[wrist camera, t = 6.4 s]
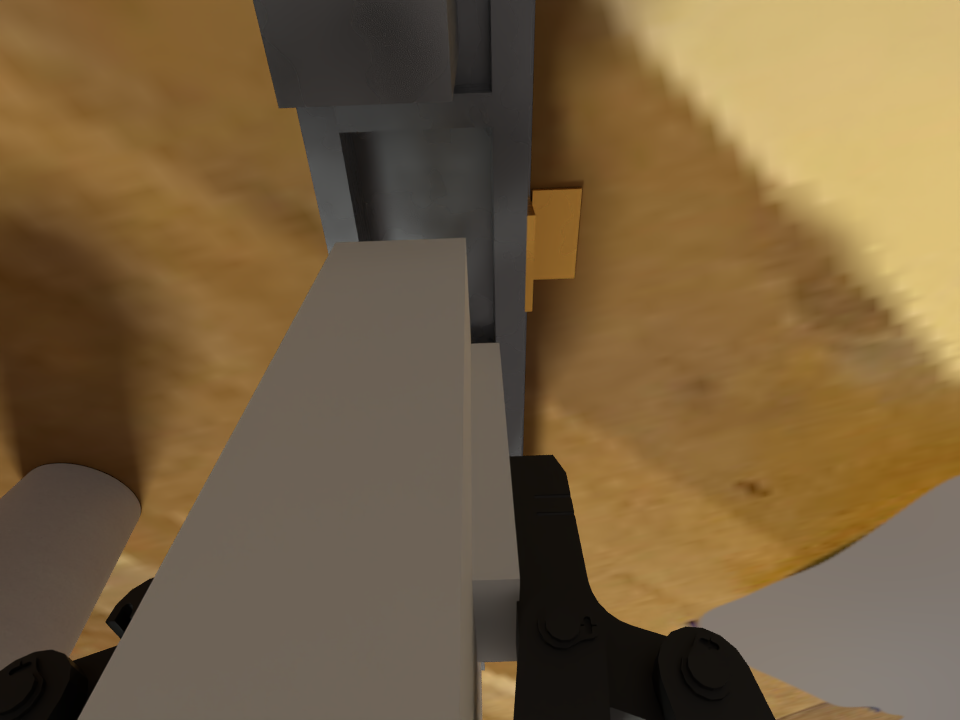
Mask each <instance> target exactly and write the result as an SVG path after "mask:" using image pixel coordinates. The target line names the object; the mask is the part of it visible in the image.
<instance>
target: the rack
mask: <svg viewBox="0 0 960 720" xmlns="http://www.w3.org/2000/svg"><path fill="white" fill-rule="evenodd" d="M253 3H254V7H255V11H256V15H257V19H258V23H259V28H260V32H261V36H262V40H263V44H264V48H265V52H266V57H267V61H268V65H269V69H270V73H271V77H272V82H273V86H274V90H275V94H276V98H277V102H278V106H279V108H296V109H297V114H298V118H299V123H300V127H301V132H302V136H303V141H304V145H305V149H306V154H307V158H308V163H309V167H310V172H311V176H312V181H313V185H314V190H315V194H316V199H317V203H318V208H319V212H320V217H321V221H322V226H323V230H324V235H325V239H326V244H327V248H328V253H329V254H330V252H331V250H332V248H333V246H334V244H335V243H338V242H365V241H392V240H418V239H445V238H466V254H467V274H468V294H469V313H470V333H471V344H476V343H499V345H500V356H501V368H502V379H503V391H504V402H505V414H506V425H507V437H508V448H509V456H523V430H524V394H525V358H526V321H527V312H532V304H533V280H540V279H567V278H574V276H575V265H576V253H577V242H578V231H579V219H580V208H581V196H582V188H581V187H578V188H552V189H532V202H531V199H530V176H531V140H532V104H533V67H534V31H535V0H253ZM481 670H485V664H484V662H481Z"/></svg>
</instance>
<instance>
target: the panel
mask: <svg viewBox="0 0 960 720" xmlns="http://www.w3.org/2000/svg"><path fill="white" fill-rule="evenodd" d="M78 720H482V682H481V662H478V655H477V641H476V628H475V614H474V601H473V587H472V483H471V333H470V313H469V294H468V274H467V254H466V238H445V239H418V240H392V241H365V242H338V243H335V244H334V246H333V248H332V250H331V252H330V254H329V255H328V257H327V259H326V261H325V263H324V265H323V267H322V268H321V270H320V272H319V274H318V276H317V278H316V279H315V281H314V283H313V285H312V287H311V289H310V291H309V292H308V294H307V296H306V298H305V300H304V302H303V303H302V305H301V307H300V309H299V311H298V313H297V315H296V316H295V318H294V320H293V322H292V324H291V326H290V328H289V329H288V331H287V333H286V335H285V337H284V339H283V340H282V342H281V344H280V346H279V348H278V350H277V352H276V353H275V355H274V357H273V359H272V361H271V363H270V365H269V366H268V368H267V370H266V372H265V374H264V376H263V377H262V379H261V381H260V383H259V385H258V387H257V389H256V390H255V392H254V394H253V396H252V398H251V400H250V401H249V403H248V405H247V407H246V409H245V411H244V413H243V414H242V416H241V418H240V420H239V422H238V424H237V426H236V427H235V429H234V431H233V433H232V435H231V437H230V438H229V440H228V442H227V444H226V446H225V448H224V450H223V451H222V453H221V455H220V457H219V459H218V461H217V463H216V464H215V466H214V468H213V470H212V472H211V474H210V475H209V477H208V479H207V481H206V483H205V485H204V487H203V488H202V490H201V492H200V494H199V496H198V498H197V499H196V501H195V503H194V505H193V507H192V509H191V511H190V512H189V514H188V516H187V518H186V520H185V522H184V524H183V525H182V527H181V529H180V531H179V533H178V535H177V536H176V538H175V540H174V542H173V544H172V546H171V548H170V549H169V551H168V553H167V555H166V557H165V559H164V561H163V562H162V564H161V566H160V568H159V570H158V572H157V573H156V575H155V577H154V579H153V581H152V583H151V585H150V586H149V588H148V590H147V592H146V594H145V596H144V597H143V599H142V601H141V603H140V605H139V607H138V609H137V610H136V612H135V614H134V616H133V618H132V620H131V622H130V623H129V625H128V627H127V629H126V631H125V633H124V634H123V636H122V638H121V640H120V642H119V644H118V646H117V647H116V649H115V651H114V653H113V655H112V657H111V659H110V660H109V662H108V664H107V666H106V668H105V670H104V671H103V673H102V675H101V677H100V679H99V681H98V683H97V684H96V686H95V688H94V690H93V692H92V694H91V695H90V697H89V699H88V701H87V703H86V705H85V707H84V708H83V710H82V712H81V714H80V716H79V718H78Z"/></svg>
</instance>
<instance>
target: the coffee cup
mask: <svg viewBox="0 0 960 720" xmlns="http://www.w3.org/2000/svg"><path fill="white" fill-rule="evenodd" d="M140 514H141V507H140V503H139V501H138V499H137V498H136V496H135V495H134V493H133V492H132V491H131V490H130V489H129V488H128V487H126V486H125V485H124V484H123V483H121V482H120V481H118V480H117V479H115V478H113V477H111V476H109V475H107V474H105V473H103V472H101V471H98V470H95V469H92V468H89V467H85V466H80V465H75V464H66V463H55V464H47V465H43V466H40V467H37V468H35V469H33V470H32V471H30V472H29V473H28V474H27V475H26V476H25V477H24V478H23V479H21V480H20V481H19V482H18V483H17V484H16V485H15V486H14V487H13V488H12V489H11V490H9V491H8V492H7V493H6V494H5V495H4V496H3V497H2V498H1V499H0V671H1V670H2V669H3V668H5V667H6V666H8V665H9V664H10V663H12V662H13V661H15V660H17V659H19V658H22V657H24V656H26V655H28V654H31V653H33V652H37V651H44V650H51V649H52V650H55V651H58V652H61V653H64V654H66V655H67V656H68V657H69V656H70V654H71V652H72V650H73V648H74V646H75V644H76V642H77V640H78V638H79V636H80V634H81V632H82V630H83V628H84V626H85V624H86V622H87V620H88V618H89V616H90V614H91V612H92V610H93V608H94V606H95V604H96V602H97V600H98V598H99V596H100V594H101V593H102V591H103V589H104V587H105V585H106V583H107V581H108V579H109V577H110V575H111V573H112V571H113V569H114V567H115V565H116V563H117V561H118V559H119V557H120V555H121V553H122V551H123V549H124V547H125V545H126V543H127V541H128V539H129V537H130V535H131V533H132V531H133V529H134V527H135V525H136V523H137V521H138V519H139V517H140Z"/></svg>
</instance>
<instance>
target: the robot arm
mask: <svg viewBox="0 0 960 720" xmlns="http://www.w3.org/2000/svg"><path fill="white" fill-rule="evenodd" d="M471 483H472V587H473V601H474V614H475V628H476V641H477V655H478V662H502V661H517V676H516V690H515V704H514V719H513V720H775V718H774V716H773V714H772V712H771V710H770V708H769V706H768V704H767V702H766V700H765V698H764V696H763V694H762V692H761V690H760V688H759V686H758V684H757V682H756V680H755V678H754V676H753V674H752V672H751V670H750V668H749V666H748V665H747V663H746V662H745V660H744V659H743V658H742V656H741V655H740V653H739V652H738V650H737V649H736V648H735V647H733V646H732V645H731V644H730V643H729V642H727V641H726V640H725V639H724V638H723V637H721V636H720V635H718V634H715V633H713V632H711V631H709V630H706V629H704V628H697V627H683V628H680V629H678V630H675V631H672V632H671V633H670V634H669V635H668V636H664V635H661V634H658V633H654V632H651V631H648V630H645V629H641V628H638V627H635V626H632V625H629V624H627V623H625V622H622V621H620V620H618V619H617V618H615V617H614V616H612V615H611V614H610V613H608V612H607V611H606V610H605V609H604V608H603V607H602V606H601V605H600V604H599V603H598V601H597V599H596V598H595V596H594V594H593V593H592V591H591V588H590V585H589V582H588V578H587V573H586V568H585V563H584V558H583V553H582V548H581V543H580V539H579V534H578V529H577V524H576V519H575V516H574V509H573V504H572V499H571V497H570V490H569V485H568V480H567V475H566V472H565V471H564V469H563V468H562V467H561V465H560V464H559V463H558V461H557V460H556V459H555V457H554V456H553V455H536V456H509V448H508V437H507V425H506V414H505V402H504V391H503V379H502V368H501V356H500V345H499V343H476V344H471ZM153 579H154V578H151V579H149V580H147V581H146V582H144V583H142V584H141V585H139V586H137V587H136V588H134V589H132V590H131V591H130V592H129V593H128V594H127V595H126V596H125V597H124V598H123V599H122V600H121V601H120V602H119V603H118V604H117V605H116V606H115V607H114V609H113V611H112V612H111V614H110V615H109V617H108V619H107V620H106V623H107V624H108V626H109V627H110V628H111V629H112V630H113V631H114V632H115V633H116V634H117V635H118V636H119V638H120V639H121V638H122V636H123V634H124V633H125V631H126V629H127V627H128V625H129V623H130V622H131V620H132V618H133V616H134V614H135V612H136V610H137V609H138V607H139V605H140V603H141V601H142V599H143V597H144V596H145V594H146V592H147V590H148V588H149V586H150V585H151V583H152V581H153ZM116 647H117V646H115V647H112V648H109V649H106V650H103V651H100V652H97V653H94V654H91V655H89V656H86V657H83V658H80V659H77V660H74V661H72V660H71V659H70V658H69V657H68V656H67V655H66V654H64V653H61V652H58V651H55V650H52V649H51V650H44V651H37V652H33V653H31V654H28V655H26V656H24V657H22V658H19V659H17V660H15V661H13V662H12V663H10V664H9V665H8V666H6V667H5V668H3V669H2V670H1V671H0V720H78V718H79V716H80V714H81V712H82V710H83V708H84V707H85V705H86V703H87V701H88V699H89V697H90V695H91V694H92V692H93V690H94V688H95V686H96V684H97V683H98V681H99V679H100V677H101V675H102V673H103V671H104V670H105V668H106V666H107V664H108V662H109V660H110V659H111V657H112V655H113V653H114V651H115V649H116Z"/></svg>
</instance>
